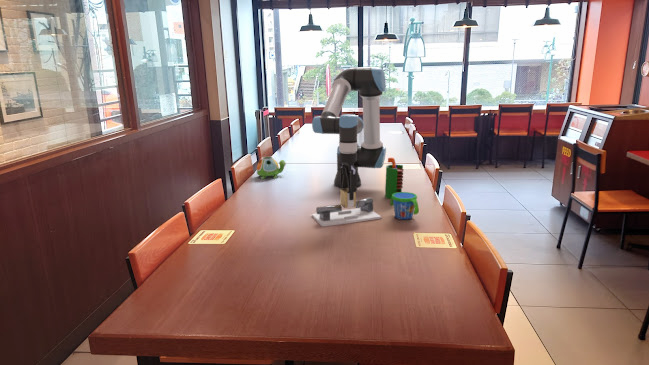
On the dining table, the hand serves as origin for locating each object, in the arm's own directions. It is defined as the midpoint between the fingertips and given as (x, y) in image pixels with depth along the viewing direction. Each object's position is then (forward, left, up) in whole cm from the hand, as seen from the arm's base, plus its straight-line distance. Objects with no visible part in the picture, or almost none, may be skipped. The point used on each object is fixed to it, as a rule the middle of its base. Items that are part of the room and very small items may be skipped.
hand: (347, 204), depth 184 cm
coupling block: (0, 0, 0) cm, 0 cm away
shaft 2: (-3, +9, -6) cm, 11 cm away
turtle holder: (-86, -15, -6) cm, 88 cm away
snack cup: (+8, +23, -6) cm, 25 cm away
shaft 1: (0, -9, -6) cm, 11 cm away
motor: (-21, +34, -6) cm, 41 cm away
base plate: (-1, 0, -6) cm, 6 cm away
